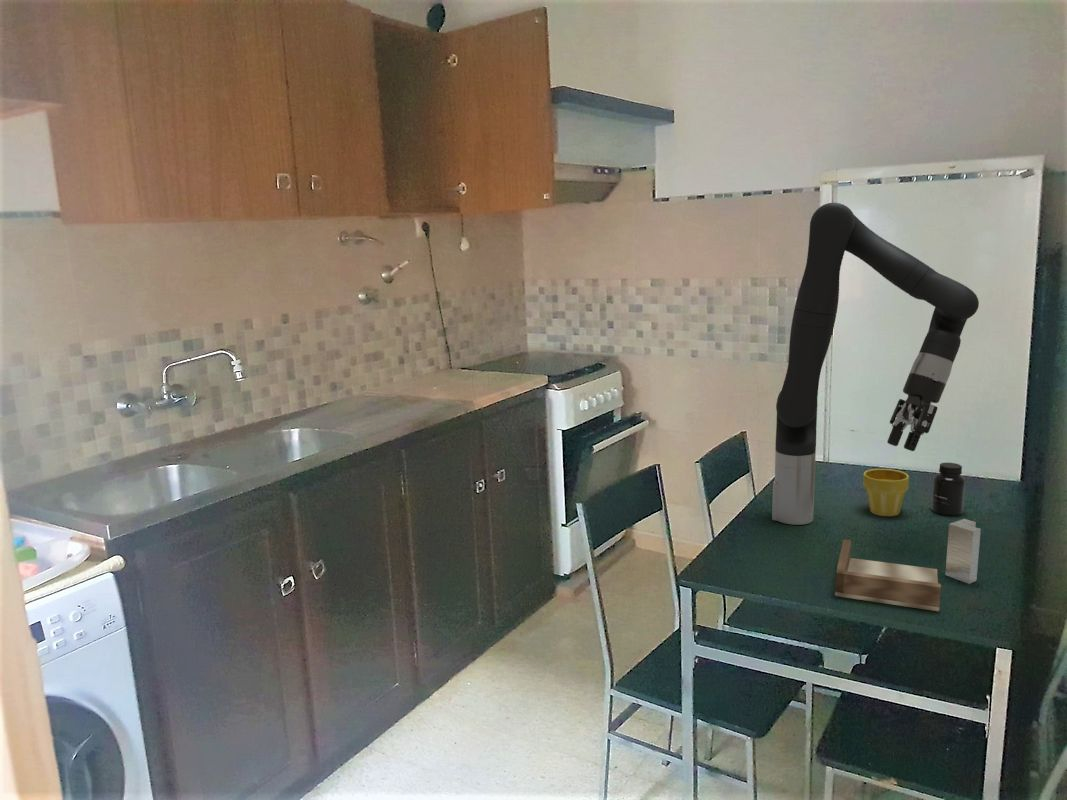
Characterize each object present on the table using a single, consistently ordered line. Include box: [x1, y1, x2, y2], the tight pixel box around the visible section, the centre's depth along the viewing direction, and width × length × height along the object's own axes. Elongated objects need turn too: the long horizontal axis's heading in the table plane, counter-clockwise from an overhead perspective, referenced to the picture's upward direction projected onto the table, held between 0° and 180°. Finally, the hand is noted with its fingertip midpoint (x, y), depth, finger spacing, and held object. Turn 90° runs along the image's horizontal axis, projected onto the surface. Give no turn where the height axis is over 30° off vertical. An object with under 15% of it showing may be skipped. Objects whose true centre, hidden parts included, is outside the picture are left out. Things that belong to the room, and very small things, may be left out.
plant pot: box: [862, 468, 910, 517], centre depth 196 cm, size 10×10×10 cm
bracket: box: [945, 518, 982, 585], centre depth 159 cm, size 5×5×11 cm
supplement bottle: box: [931, 462, 966, 517], centre depth 194 cm, size 7×7×12 cm
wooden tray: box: [834, 538, 942, 612], centre depth 158 cm, size 18×18×5 cm
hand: (900, 447), depth 173 cm, fingers open, 8 cm apart
